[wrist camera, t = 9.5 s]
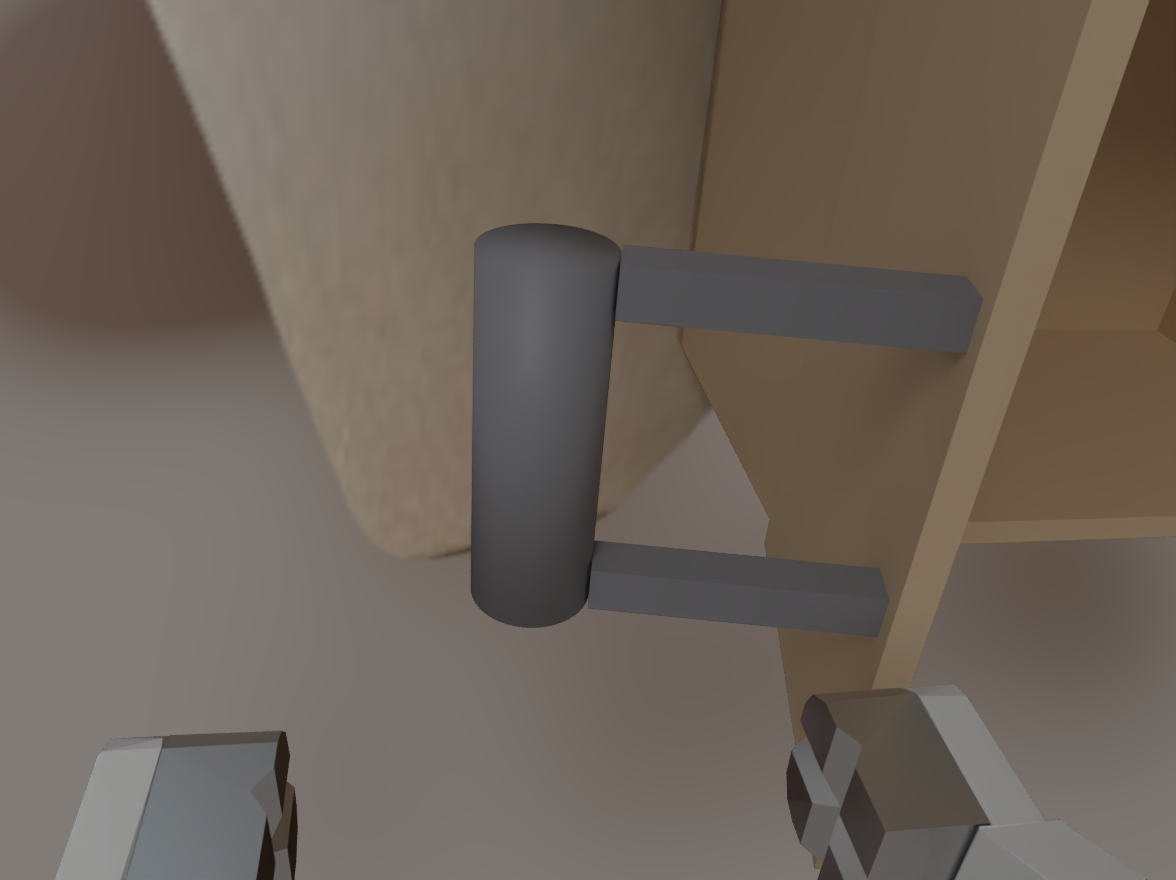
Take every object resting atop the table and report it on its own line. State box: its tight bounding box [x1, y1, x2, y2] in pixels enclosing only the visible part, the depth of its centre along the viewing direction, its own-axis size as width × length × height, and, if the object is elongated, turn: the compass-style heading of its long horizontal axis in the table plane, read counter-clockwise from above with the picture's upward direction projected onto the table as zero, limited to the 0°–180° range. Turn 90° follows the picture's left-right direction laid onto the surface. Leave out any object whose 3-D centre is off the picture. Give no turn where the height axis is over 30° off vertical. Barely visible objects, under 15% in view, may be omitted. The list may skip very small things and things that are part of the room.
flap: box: [471, 0, 1149, 869], centre depth 18 cm, size 17×10×7 cm
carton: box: [677, 0, 1176, 544], centre depth 30 cm, size 18×22×14 cm
